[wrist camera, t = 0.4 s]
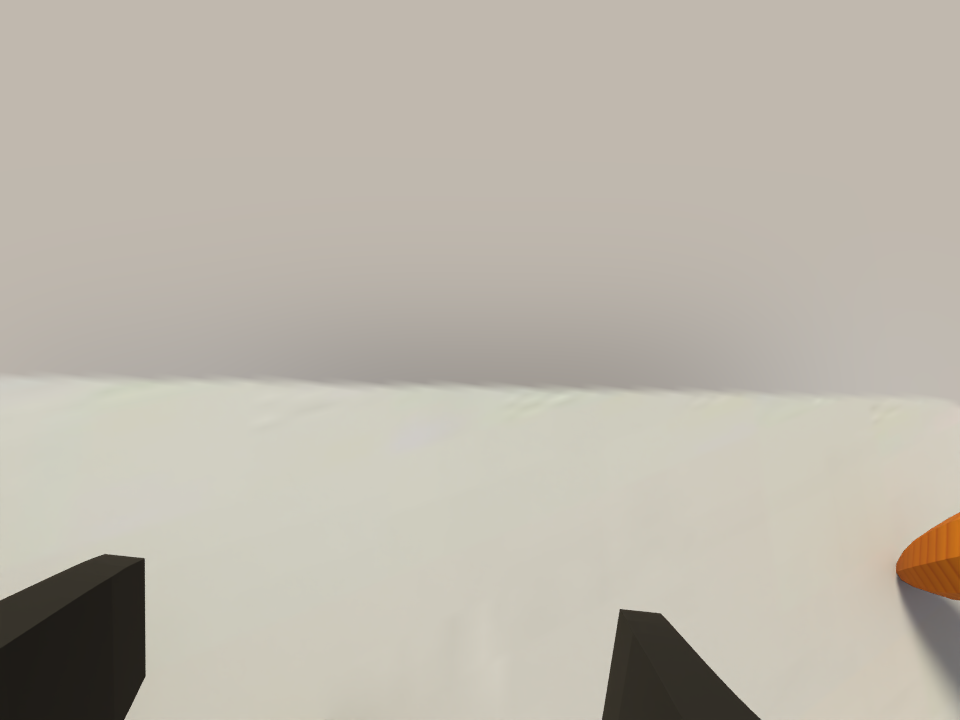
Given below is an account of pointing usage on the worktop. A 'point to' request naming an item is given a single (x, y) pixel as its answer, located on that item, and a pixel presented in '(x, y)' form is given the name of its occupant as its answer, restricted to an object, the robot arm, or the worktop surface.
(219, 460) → the worktop surface
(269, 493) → the worktop surface
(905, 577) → the carrot
